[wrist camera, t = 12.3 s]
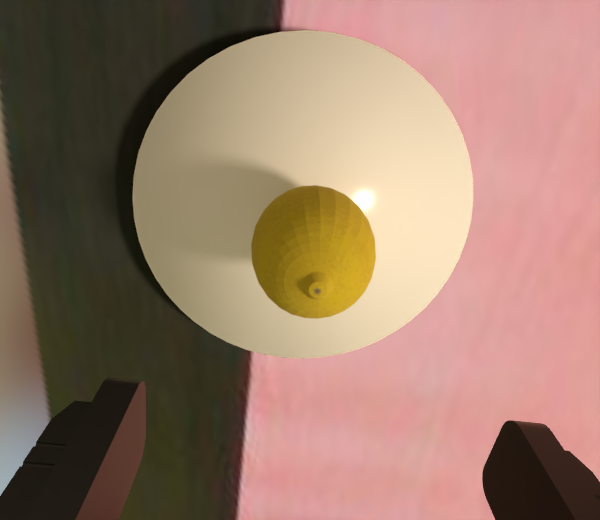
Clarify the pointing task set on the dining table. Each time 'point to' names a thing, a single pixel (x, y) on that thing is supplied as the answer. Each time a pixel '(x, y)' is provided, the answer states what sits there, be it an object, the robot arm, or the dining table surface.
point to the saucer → (301, 184)
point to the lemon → (313, 251)
